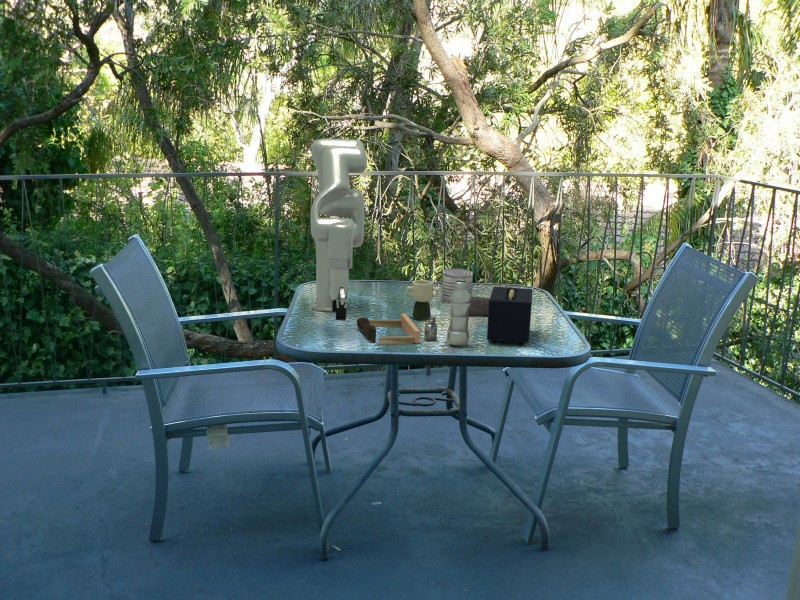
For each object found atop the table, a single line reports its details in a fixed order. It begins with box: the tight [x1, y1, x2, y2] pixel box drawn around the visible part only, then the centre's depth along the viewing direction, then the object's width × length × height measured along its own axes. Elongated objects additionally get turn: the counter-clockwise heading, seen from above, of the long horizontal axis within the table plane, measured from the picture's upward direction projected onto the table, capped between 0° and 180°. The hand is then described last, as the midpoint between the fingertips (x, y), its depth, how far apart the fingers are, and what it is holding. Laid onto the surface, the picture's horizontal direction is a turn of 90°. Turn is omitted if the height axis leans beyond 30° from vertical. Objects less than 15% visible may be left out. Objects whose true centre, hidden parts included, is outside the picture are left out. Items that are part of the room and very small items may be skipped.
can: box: [441, 267, 474, 305], centre depth 315 cm, size 11×11×12 cm
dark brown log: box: [356, 317, 377, 344], centre depth 264 cm, size 19×4×5 cm, turn 11°
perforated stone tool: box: [469, 295, 490, 317], centre depth 296 cm, size 15×5×7 cm, turn 91°
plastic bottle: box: [446, 280, 471, 347], centre depth 255 cm, size 6×7×20 cm
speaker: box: [486, 286, 533, 346], centre depth 266 cm, size 22×13×15 cm, turn 170°
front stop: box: [400, 313, 421, 345], centre depth 267 cm, size 23×2×4 cm, turn 11°
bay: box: [368, 319, 415, 345], centre depth 266 cm, size 23×11×2 cm, turn 11°
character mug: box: [406, 279, 439, 320], centre depth 287 cm, size 11×7×13 cm, turn 88°
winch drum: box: [423, 316, 439, 342], centre depth 260 cm, size 6×4×8 cm, turn 11°
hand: (338, 315), depth 263 cm, fingers open, 9 cm apart
